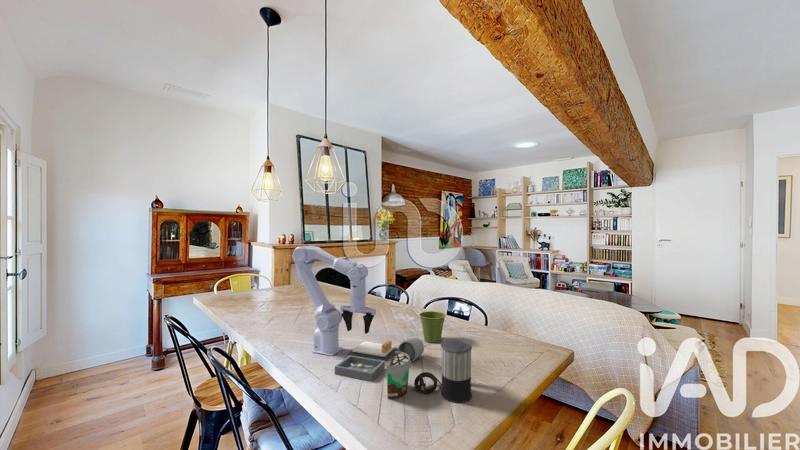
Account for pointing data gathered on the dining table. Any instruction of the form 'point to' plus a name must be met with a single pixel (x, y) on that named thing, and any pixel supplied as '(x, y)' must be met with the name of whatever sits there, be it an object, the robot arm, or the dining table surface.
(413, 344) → the ceramic mug
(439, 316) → the plant pot
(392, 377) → the food container
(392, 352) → the mat
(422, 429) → the dining table surface
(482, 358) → the dining table surface
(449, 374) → the milk frother
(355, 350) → the lid
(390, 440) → the dining table surface
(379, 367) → the dark grey tray
